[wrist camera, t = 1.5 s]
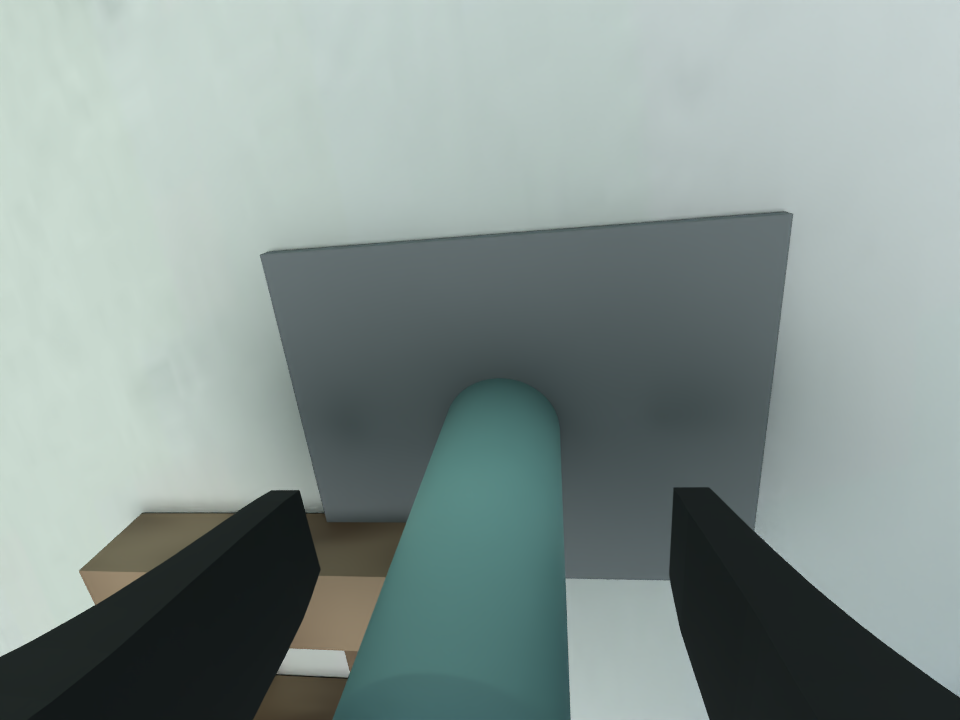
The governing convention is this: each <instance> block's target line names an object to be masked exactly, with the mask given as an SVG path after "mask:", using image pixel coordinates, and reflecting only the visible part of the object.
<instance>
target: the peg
mask: <svg viewBox="0 0 960 720" xmlns="http://www.w3.org/2000/svg"><path fill="white" fill-rule="evenodd" d="M333 720H571V719H570V692H569V665H568V637H567V610H566V583H565V555H564V528H563V501H562V474H561V446H560V426H559V420H558V417H557V414H556V412H555V410H554V408H553V406H552V405H551V403H550V402H549V401H548V399H547V398H546V397H545V396H544V395H543V394H542V393H540V392H539V391H538V390H536V389H535V388H533V387H531V386H530V385H528V384H525V383H523V382H520V381H516V380H513V379H506V378H495V379H487V380H483V381H480V382H477V383H475V384H473V385H471V386H469V387H467V388H466V389H464V390H463V391H462V392H461V393H460V394H459V395H458V396H457V397H456V398H455V399H454V401H453V402H452V404H451V406H450V408H449V410H448V413H447V416H446V418H445V421H444V424H443V426H442V429H441V432H440V434H439V437H438V440H437V442H436V445H435V448H434V450H433V453H432V456H431V458H430V461H429V464H428V466H427V469H426V472H425V474H424V477H423V480H422V482H421V485H420V488H419V490H418V493H417V496H416V498H415V501H414V504H413V506H412V509H411V512H410V514H409V517H408V520H407V522H406V525H405V528H404V530H403V533H402V536H401V538H400V541H399V544H398V546H397V549H396V552H395V554H394V557H393V560H392V562H391V565H390V568H389V570H388V573H387V576H386V578H385V581H384V584H383V586H382V589H381V592H380V594H379V597H378V600H377V602H376V605H375V608H374V610H373V613H372V616H371V618H370V621H369V624H368V626H367V629H366V632H365V634H364V637H363V640H362V642H361V645H360V648H359V650H358V653H357V656H356V658H355V661H354V664H353V666H352V669H351V672H350V674H349V677H348V680H347V682H346V685H345V688H344V690H343V693H342V696H341V698H340V701H339V704H338V706H337V709H336V712H335V714H334V717H333Z"/></svg>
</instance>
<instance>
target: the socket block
mask: <svg viewBox="0 0 960 720" xmlns="http://www.w3.org/2000/svg"><path fill="white" fill-rule="evenodd" d="M233 514H235V513H142V514H141V515H140V516H138V517H137V518H136V519H135V520H134V521H133V522H132V523H131V524H130V525H129V526H128V527H126V528H125V529H124V530H123V531H122V532H121V533H120V534H119V535H118V536H117V537H115V538H114V539H113V540H112V541H111V542H110V543H109V544H108V545H107V546H106V547H104V548H103V549H102V550H101V551H100V552H99V553H98V554H97V555H96V556H95V557H94V558H92V559H91V560H90V561H89V562H88V563H87V564H86V565H85V566H84V567H83V568H81V569H80V570H79V573H80V575H81V577H82V579H83V581H84V583H85V585H86V587H87V589H88V591H89V593H90V595H91V597H92V599H93V601H94V603H95V605H96V604H98V603H100V602H101V601H103V600H105V599H106V598H108V597H110V596H111V595H113V594H114V593H116V592H117V591H119V590H121V589H122V588H124V587H125V586H127V585H128V584H130V583H131V582H133V581H135V580H136V579H138V578H139V577H141V576H142V575H144V574H146V573H147V572H149V571H150V570H152V569H153V568H155V567H156V566H158V565H160V564H161V563H163V562H164V561H166V560H167V559H169V558H170V557H172V556H173V555H175V554H176V553H178V552H179V551H181V550H182V549H184V548H185V547H187V546H188V545H190V544H191V543H192V542H194V541H195V540H197V539H198V538H200V537H201V536H203V535H204V534H206V533H207V532H209V531H210V530H212V529H213V528H214V527H216V526H217V525H219V524H220V523H222V522H223V521H225V520H226V519H228V518H229V517H230V516H232V515H233ZM306 517H307V520H308V524H309V528H310V531H311V535H312V539H313V543H314V546H315V550H316V554H317V557H318V561H319V565H320V568H321V571H320V573H319V576H318V579H317V582H316V585H315V588H314V591H313V594H312V597H311V600H310V603H309V605H308V608H307V611H306V613H305V616H304V619H303V621H302V623H301V625H300V627H299V629H298V631H297V633H296V635H295V637H294V639H293V641H292V643H291V645H290V648H295V649H319V650H342V651H345V655H346V659H347V662H348V666H349V670H350V672H351V669H352V666H353V664H354V661H355V658H356V656H357V653H358V650H359V648H360V645H361V642H362V640H363V637H364V634H365V632H366V629H367V626H368V624H369V621H370V618H371V616H372V613H373V610H374V608H375V605H376V602H377V600H378V597H379V594H380V592H381V589H382V586H383V584H384V581H385V578H386V576H387V573H388V570H389V568H390V565H391V562H392V560H393V557H394V554H395V552H396V549H397V546H398V544H399V541H400V538H401V536H402V533H403V530H404V528H405V525H406V523H402V522H327V521H326V517H325V513H306ZM347 680H348V679H341V678H321V677H301V676H281V675H275V677H274V679H273V681H272V683H271V685H270V687H269V689H268V691H267V693H266V695H265V697H264V699H263V701H262V703H261V705H260V707H259V709H258V711H257V713H256V715H255V717H254V719H253V720H333V717H334V714H335V712H336V709H337V706H338V704H339V701H340V698H341V696H342V693H343V690H344V688H345V685H346V682H347Z"/></svg>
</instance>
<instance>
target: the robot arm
mask: <svg viewBox="0 0 960 720" xmlns="http://www.w3.org/2000/svg"><path fill="white" fill-rule="evenodd" d="M320 571H321V568H320V565H319V561H318V557H317V554H316V550H315V546H314V543H313V539H312V535H311V531H310V528H309V524H308V520H307V517H306V513H305V509H304V505H303V502H302V498H301V494H300V491H299V490H276V491H270V492H268V493H266V494H264V495H263V496H261V497H259V498H258V499H256V500H255V501H253V502H251V503H250V504H248V505H247V506H245V507H244V508H242V509H241V510H239V511H238V512H236V513H235V514H233V515H232V516H230V517H229V518H228V519H226V520H225V521H223V522H222V523H220V524H219V525H217V526H216V527H214V528H213V529H212V530H210V531H209V532H207V533H206V534H204V535H203V536H201V537H200V538H198V539H197V540H195V541H194V542H192V543H191V544H190V545H188V546H187V547H185V548H184V549H182V550H181V551H179V552H178V553H176V554H175V555H173V556H172V557H170V558H169V559H167V560H166V561H164V562H163V563H161V564H160V565H158V566H156V567H155V568H153V569H152V570H150V571H149V572H147V573H146V574H144V575H142V576H141V577H139V578H138V579H136V580H135V581H133V582H131V583H130V584H128V585H127V586H125V587H124V588H122V589H121V590H119V591H117V592H116V593H114V594H113V595H111V596H110V597H108V598H106V599H105V600H103V601H101V602H100V603H98V604H96V605H95V606H93V607H91V608H90V609H88V610H86V611H84V612H83V613H81V614H79V615H78V616H76V617H74V618H72V619H70V620H69V621H67V622H65V623H63V624H61V625H60V626H58V627H56V628H54V629H52V630H51V631H49V632H47V633H45V634H44V635H42V636H40V637H38V638H36V639H34V640H33V641H31V642H29V643H27V644H25V645H23V646H21V647H19V648H17V649H15V650H13V651H11V652H9V653H7V654H5V655H3V656H1V657H0V720H253V719H254V717H255V715H256V713H257V711H258V709H259V707H260V705H261V703H262V701H263V699H264V697H265V695H266V693H267V691H268V689H269V687H270V685H271V683H272V681H273V679H274V677H275V675H276V673H277V671H278V669H279V667H280V666H281V664H282V662H283V660H284V658H285V656H286V654H287V652H288V650H289V648H290V645H291V643H292V641H293V639H294V637H295V635H296V633H297V631H298V629H299V627H300V625H301V623H302V621H303V619H304V616H305V613H306V611H307V608H308V605H309V603H310V600H311V597H312V594H313V591H314V588H315V585H316V582H317V579H318V576H319V573H320ZM669 578H670V583H671V588H672V592H673V597H674V602H675V607H676V612H677V616H678V621H679V626H680V630H681V634H682V637H683V640H684V643H685V646H686V649H687V652H688V655H689V658H690V661H691V665H692V668H693V671H694V674H695V677H696V680H697V683H698V686H699V689H700V692H701V695H702V698H703V701H704V704H705V707H706V710H707V713H708V716H709V719H710V720H960V697H958V696H957V695H955V694H954V693H952V692H951V691H949V690H948V689H946V688H945V687H944V686H942V685H941V684H939V683H938V682H936V681H935V680H934V679H932V678H931V677H930V676H928V675H927V674H925V673H924V672H923V671H921V670H920V669H919V668H917V667H916V666H914V665H913V664H912V663H910V662H909V661H908V660H906V659H905V658H904V657H902V656H901V655H899V654H898V653H897V652H895V651H894V650H893V649H891V648H890V647H889V646H887V645H886V644H884V643H883V642H882V641H880V640H879V639H878V638H877V637H875V636H874V635H873V634H871V633H870V632H869V631H868V630H866V629H865V628H864V627H862V626H861V625H860V624H859V623H857V622H856V621H855V620H854V619H852V618H851V617H850V616H849V615H848V614H846V613H845V612H844V611H843V610H842V609H840V608H839V607H838V606H837V605H836V604H834V603H833V602H832V601H831V600H829V599H828V598H827V597H826V596H825V595H823V594H822V593H821V592H820V591H819V590H818V589H816V588H815V587H814V586H813V585H812V584H811V583H809V582H808V581H807V580H806V579H805V578H804V577H803V576H802V575H801V574H799V573H798V572H797V571H796V570H795V569H794V568H793V567H792V566H791V565H790V564H788V563H787V562H786V561H785V560H784V559H783V558H782V557H781V556H780V555H779V554H778V553H776V552H775V551H774V550H773V549H772V548H771V547H770V546H769V545H768V544H767V543H766V542H765V541H764V540H763V539H762V538H761V537H760V536H759V535H757V534H756V533H755V532H754V531H753V530H752V529H751V528H750V527H749V526H748V525H747V524H746V523H745V522H744V521H743V520H742V519H741V518H740V517H739V516H738V515H737V514H736V513H735V512H734V511H733V510H732V509H731V508H730V507H729V506H728V505H727V504H726V503H725V502H724V501H723V500H722V499H721V498H720V497H719V496H718V495H717V494H716V493H715V492H714V491H713V490H712V489H711V488H709V487H673V507H672V526H671V545H670V565H669Z"/></svg>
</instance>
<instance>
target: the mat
mask: <svg viewBox="0 0 960 720" xmlns="http://www.w3.org/2000/svg"><path fill="white" fill-rule="evenodd" d="M792 219H793V214H792V213H788V212H774V213H761V214H748V215H735V216H722V217H710V218H697V219H684V220H671V221H658V222H645V223H632V224H619V225H607V226H594V227H581V228H568V229H555V230H542V231H529V232H516V233H504V234H491V235H478V236H465V237H452V238H439V239H426V240H413V241H401V242H388V243H375V244H362V245H349V246H336V247H323V248H310V249H297V250H285V251H272V252H266V253H264V254H261V255H260V257H261V261H262V265H263V269H264V273H265V277H266V281H267V285H268V289H269V293H270V297H271V301H272V305H273V309H274V313H275V317H276V321H277V325H278V329H279V333H280V337H281V341H282V345H283V349H284V353H285V357H286V361H287V365H288V369H289V373H290V377H291V381H292V385H293V389H294V393H295V397H296V401H297V405H298V409H299V413H300V417H301V421H302V425H303V429H304V433H305V437H306V441H307V445H308V449H309V453H310V457H311V461H312V465H313V469H314V473H315V477H316V481H317V485H318V489H319V493H320V497H321V501H322V505H323V509H324V513H325V517H326V521H327V522H402V523H406V522H407V520H408V517H409V514H410V512H411V509H412V506H413V504H414V501H415V498H416V496H417V493H418V490H419V488H420V485H421V482H422V480H423V477H424V474H425V472H426V469H427V466H428V464H429V461H430V458H431V456H432V453H433V450H434V448H435V445H436V442H437V440H438V437H439V434H440V432H441V429H442V426H443V424H444V421H445V418H446V416H447V413H448V410H449V408H450V406H451V404H452V402H453V401H454V399H455V398H456V397H457V396H458V395H459V394H460V393H461V392H462V391H463V390H464V389H466V388H467V387H469V386H471V385H473V384H475V383H477V382H480V381H483V380H487V379H495V378H506V379H513V380H516V381H520V382H523V383H525V384H528V385H530V386H531V387H533V388H535V389H536V390H538V391H539V392H540V393H542V394H543V395H544V396H545V397H546V398H547V399H548V401H549V402H550V403H551V405H552V406H553V408H554V410H555V412H556V414H557V417H558V420H559V426H560V446H561V474H562V501H563V528H564V555H565V578H575V579H627V580H670V578H669V565H670V545H671V526H672V507H673V487H709V488H711V489H712V490H713V491H714V492H715V493H716V494H717V495H718V496H719V497H720V498H721V499H722V500H723V501H724V502H725V503H726V504H727V505H728V506H729V507H730V508H731V509H732V510H733V511H734V512H735V513H736V514H737V515H738V516H739V517H740V518H741V519H742V520H743V521H744V522H745V523H746V524H747V525H748V526H749V527H750V528H751V529H752V530H753V531H754V527H755V519H756V511H757V503H758V495H759V486H760V478H761V470H762V462H763V454H764V446H765V438H766V430H767V422H768V413H769V405H770V397H771V389H772V381H773V373H774V365H775V357H776V348H777V340H778V332H779V324H780V316H781V308H782V300H783V292H784V284H785V275H786V267H787V259H788V251H789V243H790V235H791V227H792Z"/></svg>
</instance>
